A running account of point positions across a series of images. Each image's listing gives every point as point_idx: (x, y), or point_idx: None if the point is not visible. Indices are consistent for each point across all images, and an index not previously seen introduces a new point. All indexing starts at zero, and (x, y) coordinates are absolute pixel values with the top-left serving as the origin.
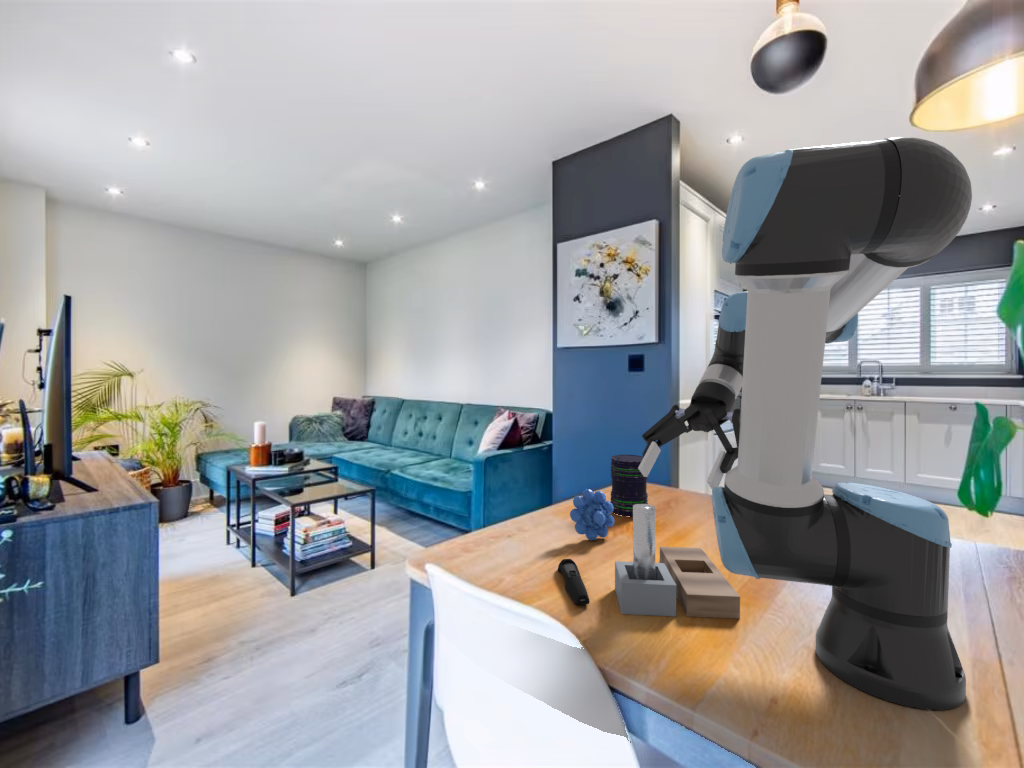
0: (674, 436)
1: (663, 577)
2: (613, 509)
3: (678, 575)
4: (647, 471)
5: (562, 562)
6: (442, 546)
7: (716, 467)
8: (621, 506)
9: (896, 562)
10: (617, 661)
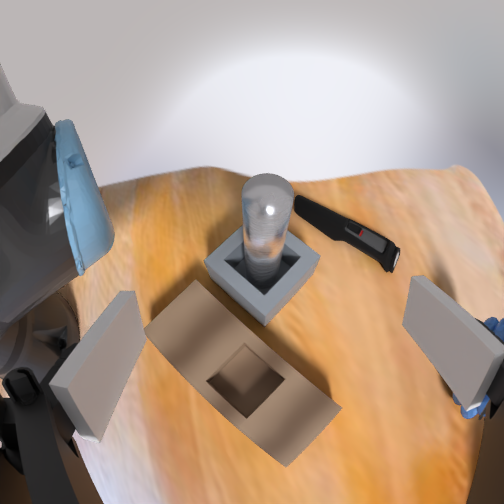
0: (476, 489)
1: (231, 267)
2: (479, 413)
3: (240, 325)
4: (412, 321)
5: (391, 241)
6: (488, 195)
7: (96, 323)
8: None
9: None
10: (207, 173)
